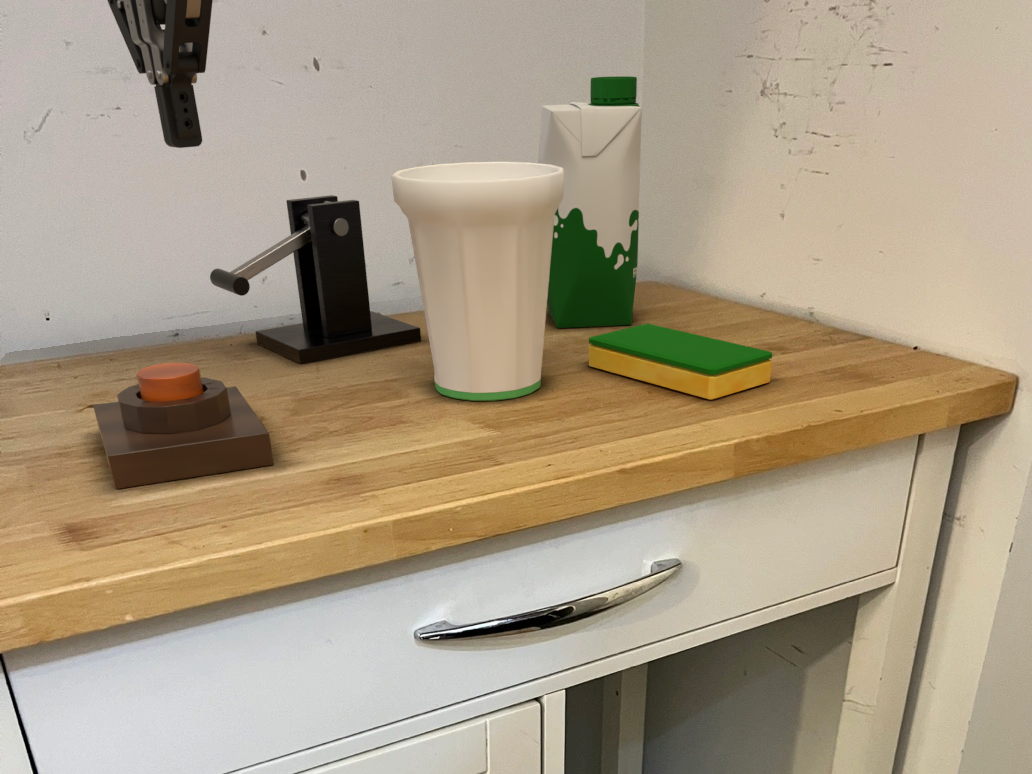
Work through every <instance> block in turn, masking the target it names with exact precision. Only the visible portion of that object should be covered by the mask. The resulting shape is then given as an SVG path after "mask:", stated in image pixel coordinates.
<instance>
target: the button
mask: <svg viewBox="0 0 1032 774" xmlns="http://www.w3.org/2000/svg"><path fill="white" fill-rule="evenodd" d="M201 377H202V376H201V371H200V367H199V366H198V365H196V364H194V363H189V362H168V363H167V362H166V363H158V364H153V365H149V366H146V367H143V368H141V369H139V370H138V371H136V379H137V384H139V389H140V393H141V398H142V400H146V401H173V400H181V399H187V398H191V397H194V396H197V395H201V394H202V393H204V392H203V386H202V381H201Z"/></svg>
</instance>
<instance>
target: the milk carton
mask: <svg viewBox="0 0 1032 774" xmlns="http://www.w3.org/2000/svg"><path fill="white" fill-rule="evenodd" d="M637 88H638V78H637V76H596V77H591V78H590V102H582V101H580V102H579V101H572V102H568V104H542V105H541V109H540V110H541V111H540V128H539V145H538V162H537V163H539V164H550V165H554V166H558V167H562V168H563V169H564V189H563V200H562V201H561V203H560V205H559V207H558V209H557V211H556V213H555V216H554V227H553V239H552V251H551V262H550V274H549V285H548V297H547V312H548V313H549V316H550V317H551V320H552V321H553V323H554V325H555V327H556V329H569V328H570V329H572V328H573V329H574V328H592V327H593V328H594V327H611V326H612V327H614V326H615V327H616V326H632V324H633V314H634V313H633V312H634V303H635V293H636V284H637V274H638V262H639V260H638V257H639V230H640V229H639V225H640V223H639V222H640V190H641V188H640V186H641V149H642V148H641V146H642V145H641V144H642V119H643V118H642V117H643V116H642V114H643V109H642V107H641V106H640V105H639V103H638V102H637V91H638V89H637Z"/></svg>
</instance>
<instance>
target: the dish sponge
mask: <svg viewBox="0 0 1032 774" xmlns="http://www.w3.org/2000/svg"><path fill="white" fill-rule="evenodd" d="M588 344H589V345H588V366H589V367H592V368H595V369H598V370H603V371H605V372H609V373H611V374H617V375H619V376H620V375H621V376H624V377H627V378H630V379H634V380H638V381H641V382H644V383H649V384H652V385H656V386H660V387H663V388H666V389H670V390H674V391H677V392H680V393H684V394H687V395H691V396H695V397H699V398H702V399H705V400H710V401H712V400H715V399H718V398H722V397H724V396H728V395H732V394H734V393H735V394H736V393H739V392H741V391H745V390H748V389H751V388H754V387H757V386H761V385H765V384H767V383H770V382H771V374H772V373H771V371H772V364H773V363H772V360H771V359H773V352H772V351H770V350H765V349H761V348H757V347H753V346H748V345H745V344H744V345H743V344H738V343H734V342H730V341H726V340H721V339H718V338H713V337H709V336H703V335H699V334H696V333H691V332H687V331H682V330H678V329H674V328H669V327H666V326H665V327H664V326H660V325H657V324H652V323H644V324H639V325H636V326H632V327H631V326H630V327H627V328H622V329H618V330H614V331H610V332H606V333H601V334H598V335H594V336H590V337H588Z"/></svg>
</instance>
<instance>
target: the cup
mask: <svg viewBox="0 0 1032 774" xmlns="http://www.w3.org/2000/svg"><path fill="white" fill-rule="evenodd" d="M391 185H392V193H393V202H394V203H395V204H397V206H398V207H399V209H400V211H401V213H402V214H404V216H405V217H406V218H407V221H408V228H409V232H410V239H411V244H412V250H413V255H414V261H415V266H416V267H415V268H416V273H417V279H418V283H419V289H420V290H419V291H420V297H421V303H422V307H423V313H424V318H425V319H424V320H425V324H426V330H427V336H428V342H429V347H430V354H431V358H432V365H433V370H434V377H433V378H434V387H435V390H436V391H437V392H438V393H440V395H442V396H444V397H447V398H451V399H455V400H463V401H471V402H491V401H501V400H502V401H503V400H511V399H517V398H520V397H521V398H522V397H524V396H527V395H530V394H532V393H534V392H536V391H538V389H540V388H541V385H542V381H541V380H542V379H541V378H542V366H543V354H544V342H545V331H546V321H547V310H548V306H547V297H548V285H549V274H550V262H551V251H552V239H553V227H554V216H555V213H556V211H557V209H558V207H559V205H560V203H561V201H562V200H563V189H564V169H563V168H562V167H558V166H554V165H550V164H539V163H538V162H527V161H525V162H524V161H469V162H453V163H452V162H451V163H438V164H429V165H421V166H413V167H409V168H405V169H400V170H397V171H395V172H394V173H393V174H392V175H391Z"/></svg>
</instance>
